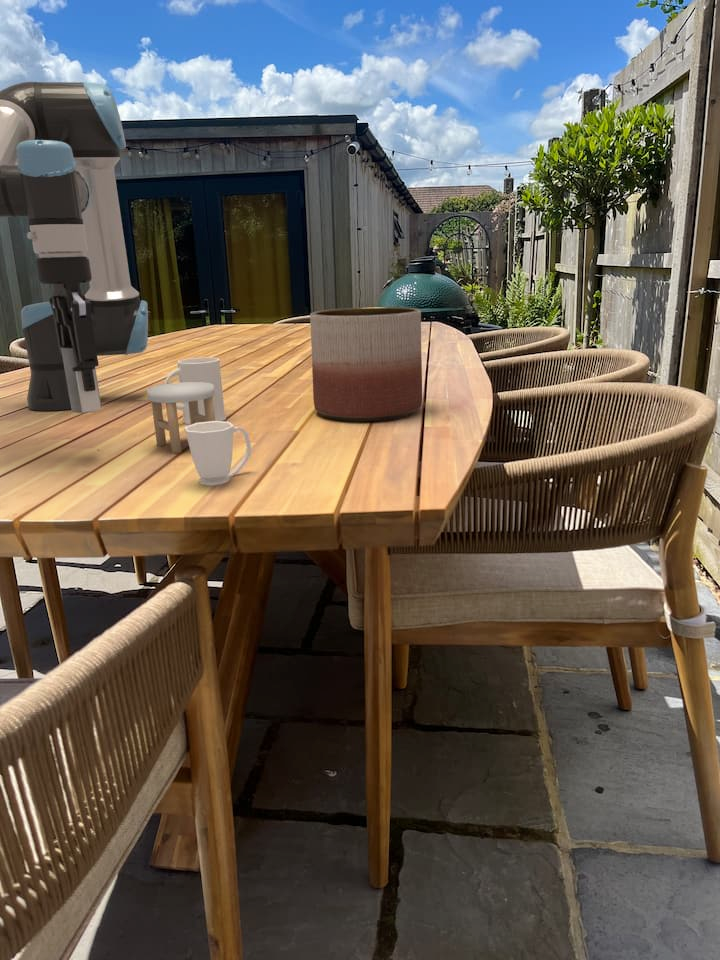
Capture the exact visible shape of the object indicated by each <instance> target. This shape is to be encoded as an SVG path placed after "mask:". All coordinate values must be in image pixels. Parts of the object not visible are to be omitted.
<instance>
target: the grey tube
mask: <svg viewBox="0 0 720 960" xmlns="http://www.w3.org/2000/svg"><path fill="white" fill-rule="evenodd" d="M61 351H62V357H63V363H64V369H65V375H66V381H67V386H68V392H69V398H70V404H71V409H70V410H71V412H72V413H77V414H84V413H85V414H86V413H88V412H84V413H83V412H82V409H81V402H80V396H79V390H78V384H77V378H76V372H73V370H72V368H74V367H76V366H77V365H76V361H75V356H74V352H73V347H72V344H70V345H64V346H62V347H61ZM95 375H96V382H97V388H98V395H99V401H100V407H101V408H102V402H101V395H100V388H99V382H98V376H97V370H96V367H95ZM92 412H93V413H94V412H98V410H96V411H90V412H89V413H92Z"/></svg>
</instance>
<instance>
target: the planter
mask: <svg viewBox="0 0 720 960" xmlns="http://www.w3.org/2000/svg"><path fill="white" fill-rule="evenodd" d="M309 318H310V321H309V322H310V325H309V326H310V340H311V341H310V343H311V344H310V345H311V368H312V369H311V371H312V391H313V392H312V393H313V394H312V395H313V406H314V410H315V411H316V412H317V413H319V414H320V415H322V416H324V417H326V418H329V419H333V420H338V421H346V422H380V421H381V422H382V421H388V420H395V419H400V418H404V417H407V416H409V415H412V414H414V413H415V412H417V411H418V410H419V409H420V408H421V407H422V405H423V369H422V368H423V367H422V361H423V360H422V311H421V309H419V308H415V307H403V306H402V307H400V306H399V307H398V306H376V307H375V306H371V307H367V306H365V307H347V308H346V307H345V308H332V309H324V310H322V309H321V310H318V311H313V312H311V313H310V314H309Z"/></svg>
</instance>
